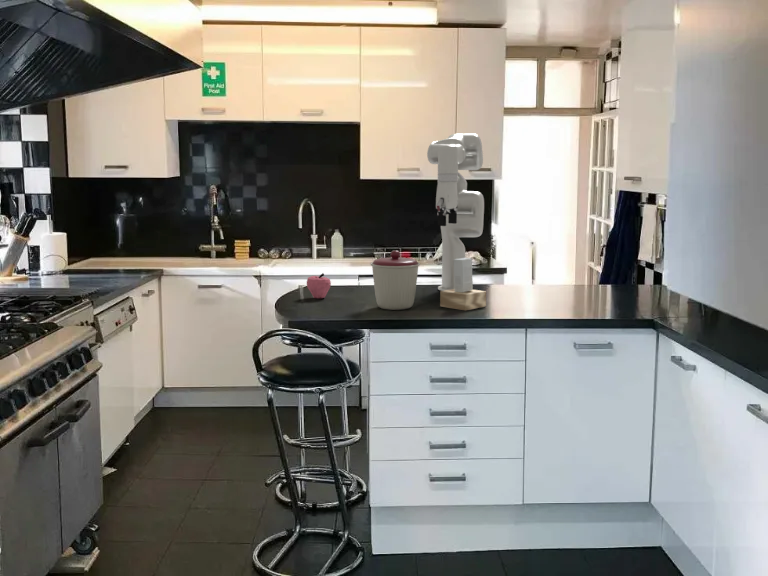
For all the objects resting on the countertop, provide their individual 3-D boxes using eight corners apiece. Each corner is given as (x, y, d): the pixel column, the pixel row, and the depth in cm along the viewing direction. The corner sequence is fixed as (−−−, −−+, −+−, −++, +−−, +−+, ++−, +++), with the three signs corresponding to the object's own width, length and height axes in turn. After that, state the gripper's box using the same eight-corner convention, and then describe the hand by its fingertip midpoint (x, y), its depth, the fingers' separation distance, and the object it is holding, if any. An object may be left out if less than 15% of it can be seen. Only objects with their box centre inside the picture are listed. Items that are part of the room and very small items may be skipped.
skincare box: (463, 289, 305) (463, 257, 303) (473, 290, 302) (472, 258, 300) (453, 291, 300) (453, 259, 299) (463, 292, 298) (462, 259, 296)
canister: (430, 308, 299) (430, 250, 295) (394, 314, 286) (394, 254, 283) (395, 301, 312) (396, 246, 308) (360, 307, 299) (360, 250, 296)
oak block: (460, 303, 311) (461, 287, 310) (485, 307, 303) (486, 291, 302) (440, 307, 302) (440, 291, 302) (465, 311, 294) (465, 294, 293)
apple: (328, 295, 325) (327, 270, 324) (333, 299, 317) (333, 273, 315) (304, 297, 322) (304, 271, 321) (309, 300, 314) (309, 274, 312)
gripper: (448, 177, 312) (447, 222, 316) (428, 179, 297) (428, 226, 301) (466, 177, 309) (465, 222, 312) (447, 180, 294) (447, 227, 297)
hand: (447, 224), depth 306 cm, fingers open, 9 cm apart
